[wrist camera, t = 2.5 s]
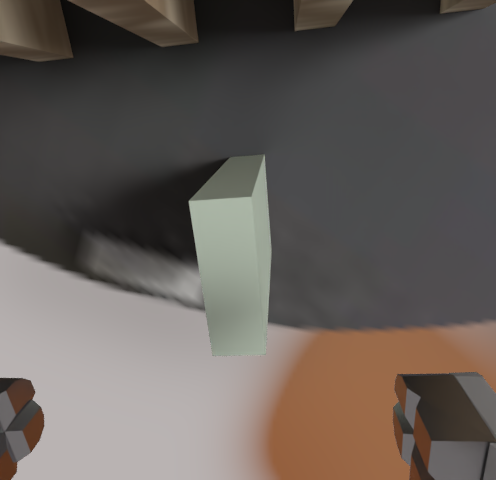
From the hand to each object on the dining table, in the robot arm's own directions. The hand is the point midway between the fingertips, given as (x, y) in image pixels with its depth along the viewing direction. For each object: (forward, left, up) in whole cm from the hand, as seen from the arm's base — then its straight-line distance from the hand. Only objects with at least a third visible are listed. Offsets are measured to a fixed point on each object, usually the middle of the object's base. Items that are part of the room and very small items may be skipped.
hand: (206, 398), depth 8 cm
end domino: (0, 0, -15) cm, 15 cm away
